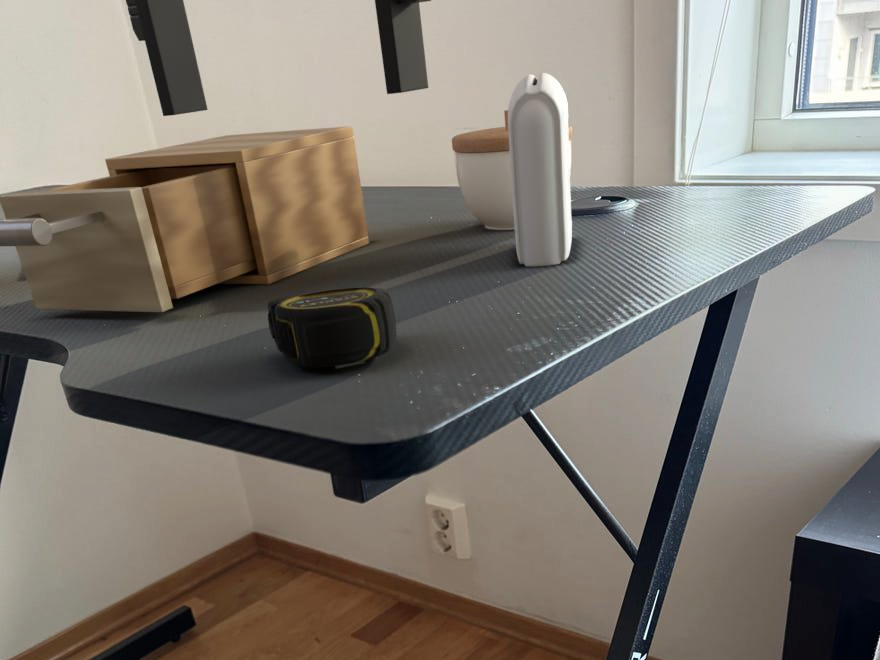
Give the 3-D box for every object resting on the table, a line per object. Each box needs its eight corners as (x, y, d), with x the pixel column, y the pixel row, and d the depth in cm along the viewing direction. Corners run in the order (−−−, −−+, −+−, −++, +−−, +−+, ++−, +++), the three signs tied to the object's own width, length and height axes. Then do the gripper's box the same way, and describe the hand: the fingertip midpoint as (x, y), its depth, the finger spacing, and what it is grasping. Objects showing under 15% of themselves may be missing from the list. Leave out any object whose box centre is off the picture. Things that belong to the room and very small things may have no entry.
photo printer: (522, 244, 78) (512, 73, 71) (573, 240, 77) (568, 67, 71) (513, 271, 69) (500, 79, 63) (570, 267, 69) (563, 73, 62)
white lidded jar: (473, 218, 92) (464, 110, 87) (581, 211, 89) (578, 100, 84) (448, 240, 83) (436, 121, 78) (567, 232, 81) (562, 109, 76)
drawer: (96, 338, 60) (55, 207, 56) (-34, 333, 65) (-81, 212, 61) (282, 265, 75) (262, 158, 71) (166, 265, 80) (140, 165, 76)
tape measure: (387, 339, 56) (377, 274, 54) (412, 367, 51) (402, 297, 49) (275, 358, 55) (261, 293, 53) (288, 389, 50) (273, 318, 48)
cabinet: (269, 286, 73) (241, 150, 68) (139, 285, 79) (104, 159, 73) (369, 245, 85) (352, 126, 79) (250, 246, 90) (227, 135, 85)
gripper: (-126, -469, 37) (55, 128, 49) (413, -751, 27) (483, 87, 39) (21, -410, 43) (153, 113, 54) (514, -626, 33) (549, 74, 44)
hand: (290, 103), depth 46 cm, fingers open, 13 cm apart
